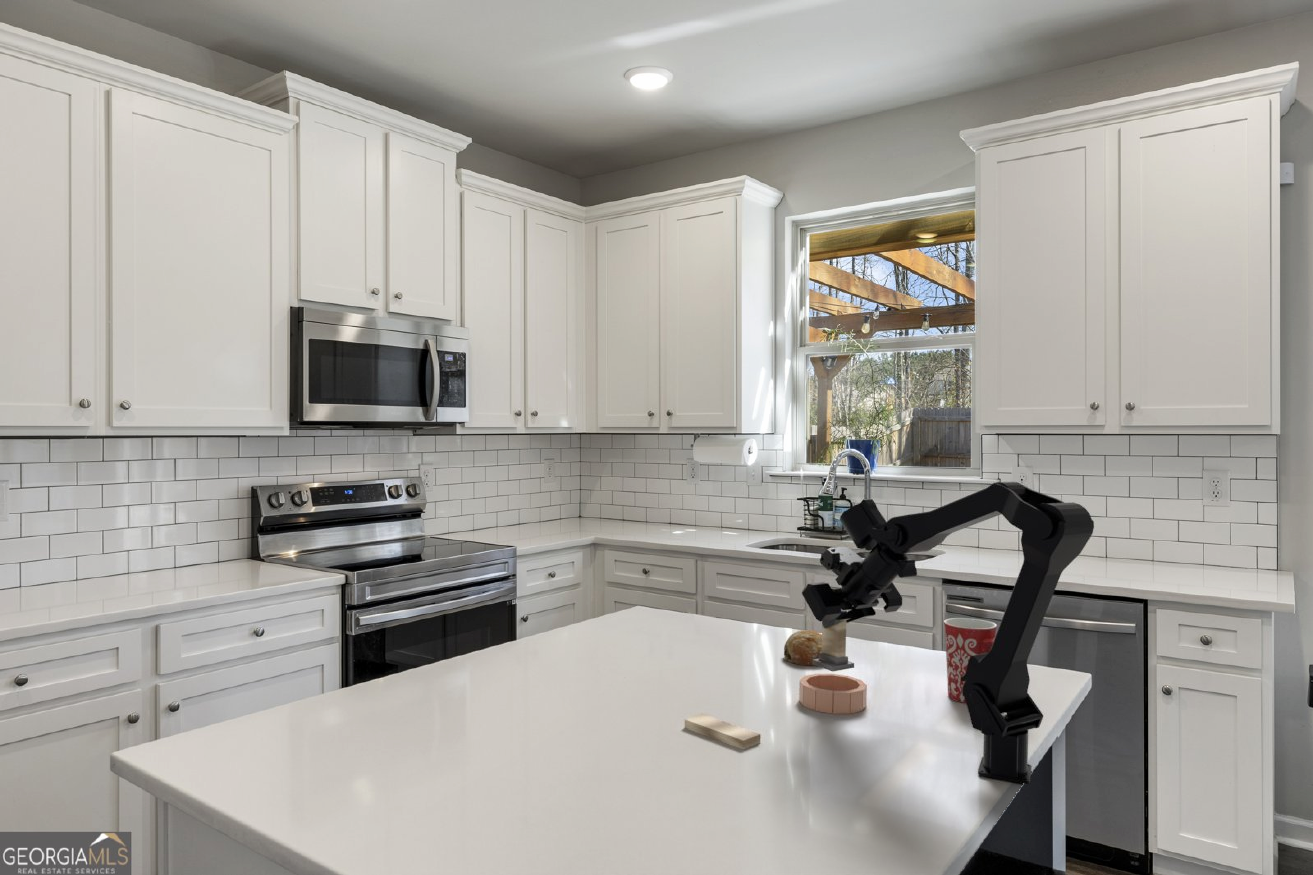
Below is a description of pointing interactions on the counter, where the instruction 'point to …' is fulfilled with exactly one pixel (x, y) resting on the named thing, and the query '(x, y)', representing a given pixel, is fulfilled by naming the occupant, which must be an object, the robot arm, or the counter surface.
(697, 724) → the light wooden flat block
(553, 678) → the counter surface
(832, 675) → the bowl
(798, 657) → the bread roll
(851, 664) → the wooden pillar
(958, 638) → the mug
